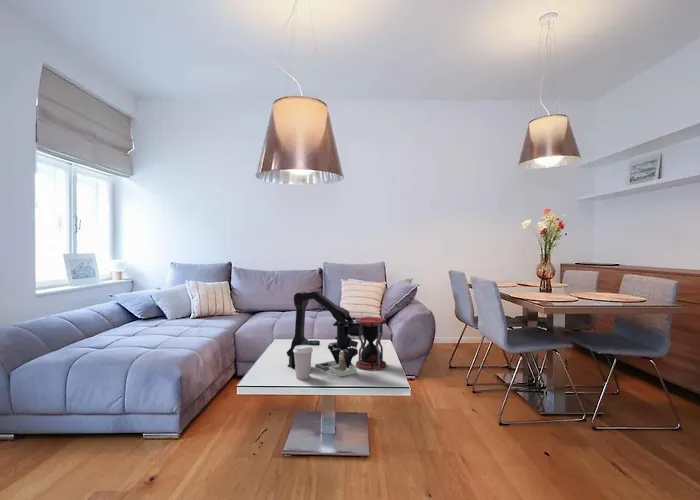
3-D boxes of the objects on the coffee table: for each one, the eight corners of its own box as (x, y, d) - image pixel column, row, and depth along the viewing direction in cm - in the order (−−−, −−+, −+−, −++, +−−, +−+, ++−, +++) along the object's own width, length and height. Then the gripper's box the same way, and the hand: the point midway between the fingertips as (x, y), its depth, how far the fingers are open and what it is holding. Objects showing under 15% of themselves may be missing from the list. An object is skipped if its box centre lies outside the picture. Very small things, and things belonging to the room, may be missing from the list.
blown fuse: (341, 373, 206) (341, 359, 206) (337, 371, 209) (337, 357, 209) (347, 371, 208) (347, 358, 208) (343, 370, 211) (343, 356, 211)
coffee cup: (296, 381, 194) (296, 350, 194) (290, 376, 203) (290, 345, 203) (315, 379, 198) (315, 348, 198) (309, 373, 207) (309, 343, 207)
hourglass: (367, 372, 209) (366, 323, 209) (350, 364, 223) (349, 318, 222) (392, 367, 217) (392, 319, 217) (374, 360, 231) (374, 315, 231)
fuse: (340, 365, 221) (340, 352, 221) (336, 364, 224) (336, 351, 224) (346, 364, 223) (345, 351, 223) (342, 362, 226) (342, 350, 226)
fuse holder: (323, 370, 212) (323, 367, 212) (315, 366, 218) (315, 364, 218) (351, 364, 222) (351, 362, 222) (343, 361, 229) (343, 358, 229)
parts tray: (340, 377, 201) (340, 371, 201) (328, 372, 209) (328, 367, 209) (356, 373, 207) (356, 368, 207) (345, 368, 215) (345, 363, 215)
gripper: (366, 336, 205) (366, 367, 205) (345, 330, 220) (345, 359, 220) (348, 339, 199) (348, 371, 199) (327, 332, 214) (327, 362, 214)
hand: (342, 365), depth 208 cm, fingers open, 9 cm apart
